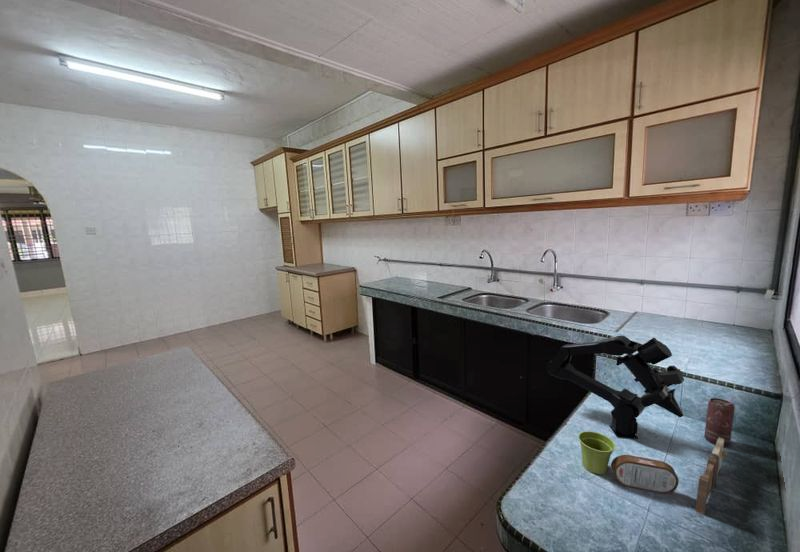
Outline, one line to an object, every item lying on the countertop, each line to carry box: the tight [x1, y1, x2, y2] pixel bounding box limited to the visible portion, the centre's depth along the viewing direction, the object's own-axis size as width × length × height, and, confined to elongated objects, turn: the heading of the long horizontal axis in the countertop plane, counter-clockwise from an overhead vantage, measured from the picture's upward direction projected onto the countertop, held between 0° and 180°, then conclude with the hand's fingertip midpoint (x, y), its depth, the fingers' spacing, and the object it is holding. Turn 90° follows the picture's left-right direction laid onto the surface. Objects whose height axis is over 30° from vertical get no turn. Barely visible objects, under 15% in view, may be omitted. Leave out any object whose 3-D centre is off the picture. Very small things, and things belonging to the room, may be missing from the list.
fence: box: [695, 456, 717, 515], centre depth 84 cm, size 12×2×9 cm, turn 129°
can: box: [703, 397, 736, 448], centre depth 107 cm, size 6×6×14 cm
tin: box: [610, 454, 680, 494], centre depth 89 cm, size 15×3×8 cm, turn 71°
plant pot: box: [577, 430, 616, 475], centre depth 97 cm, size 9×9×9 cm
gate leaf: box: [708, 437, 729, 489], centre depth 92 cm, size 13×3×9 cm, turn 129°
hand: (681, 416), depth 100 cm, fingers closed
